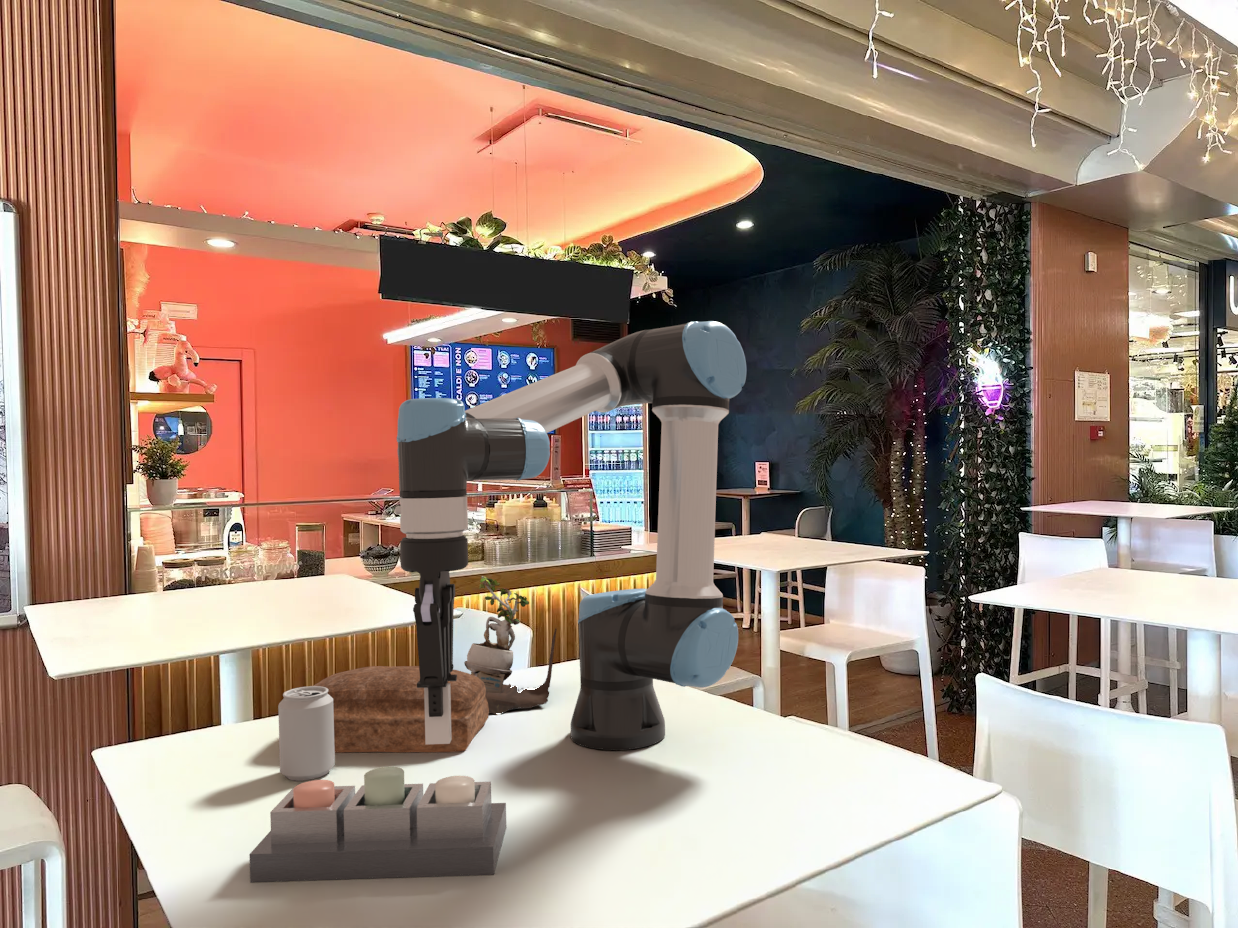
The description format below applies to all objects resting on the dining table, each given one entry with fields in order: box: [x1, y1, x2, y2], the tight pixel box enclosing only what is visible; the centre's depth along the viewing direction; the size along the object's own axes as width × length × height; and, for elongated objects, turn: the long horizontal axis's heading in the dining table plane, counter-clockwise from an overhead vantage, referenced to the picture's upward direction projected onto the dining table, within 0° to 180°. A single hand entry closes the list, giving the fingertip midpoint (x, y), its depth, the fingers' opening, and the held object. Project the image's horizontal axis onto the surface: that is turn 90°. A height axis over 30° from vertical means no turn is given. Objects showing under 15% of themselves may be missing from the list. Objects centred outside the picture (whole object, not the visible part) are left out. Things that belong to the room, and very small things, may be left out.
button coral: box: [292, 779, 335, 808], centre depth 100 cm, size 4×4×4 cm
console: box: [248, 781, 507, 883], centre depth 100 cm, size 26×12×6 cm, turn 91°
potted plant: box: [463, 575, 557, 715], centre depth 165 cm, size 20×19×25 cm
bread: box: [312, 665, 490, 753], centre depth 143 cm, size 17×29×11 cm, turn 86°
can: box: [277, 685, 336, 782], centre depth 127 cm, size 8×8×12 cm
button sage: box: [363, 766, 405, 806], centre depth 100 cm, size 4×4×4 cm
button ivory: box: [434, 775, 475, 804], centre depth 100 cm, size 4×4×4 cm
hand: (438, 741), depth 100 cm, fingers closed
